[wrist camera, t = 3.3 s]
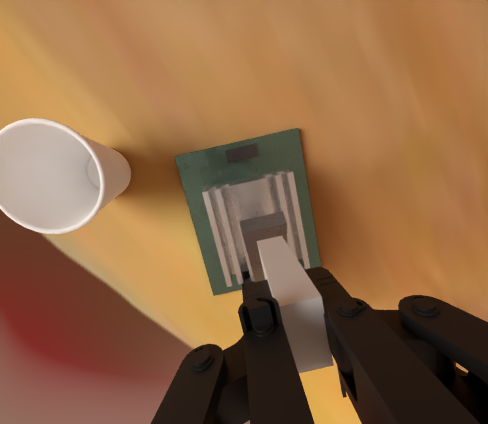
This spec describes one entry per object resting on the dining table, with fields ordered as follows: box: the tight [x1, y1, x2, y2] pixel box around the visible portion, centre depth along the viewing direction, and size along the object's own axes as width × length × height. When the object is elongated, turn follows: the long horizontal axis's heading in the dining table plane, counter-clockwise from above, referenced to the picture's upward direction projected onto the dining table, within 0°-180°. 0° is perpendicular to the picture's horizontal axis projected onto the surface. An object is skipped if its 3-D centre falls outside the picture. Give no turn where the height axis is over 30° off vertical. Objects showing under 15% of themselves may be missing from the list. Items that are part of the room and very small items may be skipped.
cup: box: [0, 118, 131, 234], centre depth 26 cm, size 10×10×11 cm
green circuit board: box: [174, 128, 322, 302], centre depth 29 cm, size 20×16×10 cm
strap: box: [239, 211, 287, 282], centre depth 22 cm, size 15×3×1 cm
